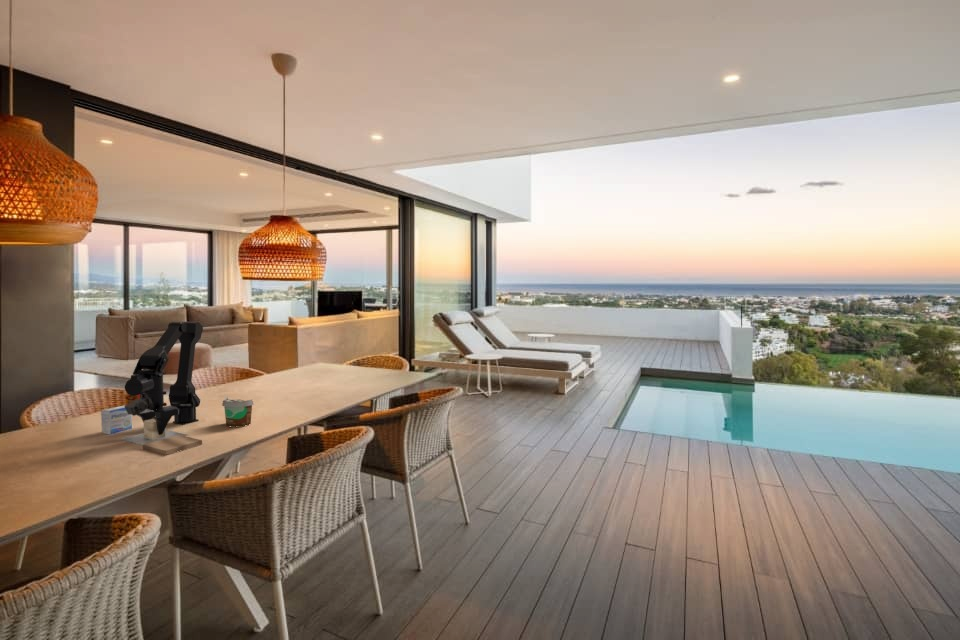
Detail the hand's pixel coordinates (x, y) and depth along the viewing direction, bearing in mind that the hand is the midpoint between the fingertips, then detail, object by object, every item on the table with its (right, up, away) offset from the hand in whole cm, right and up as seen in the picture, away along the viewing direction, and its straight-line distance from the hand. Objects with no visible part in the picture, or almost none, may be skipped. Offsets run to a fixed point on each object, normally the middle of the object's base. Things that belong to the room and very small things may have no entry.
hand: (154, 433), depth 169 cm
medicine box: (-18, -1, +6) cm, 19 cm away
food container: (+20, -1, +16) cm, 26 cm away
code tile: (0, -2, 0) cm, 2 cm away
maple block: (0, -1, 0) cm, 1 cm away
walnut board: (+12, -2, -9) cm, 15 cm away
